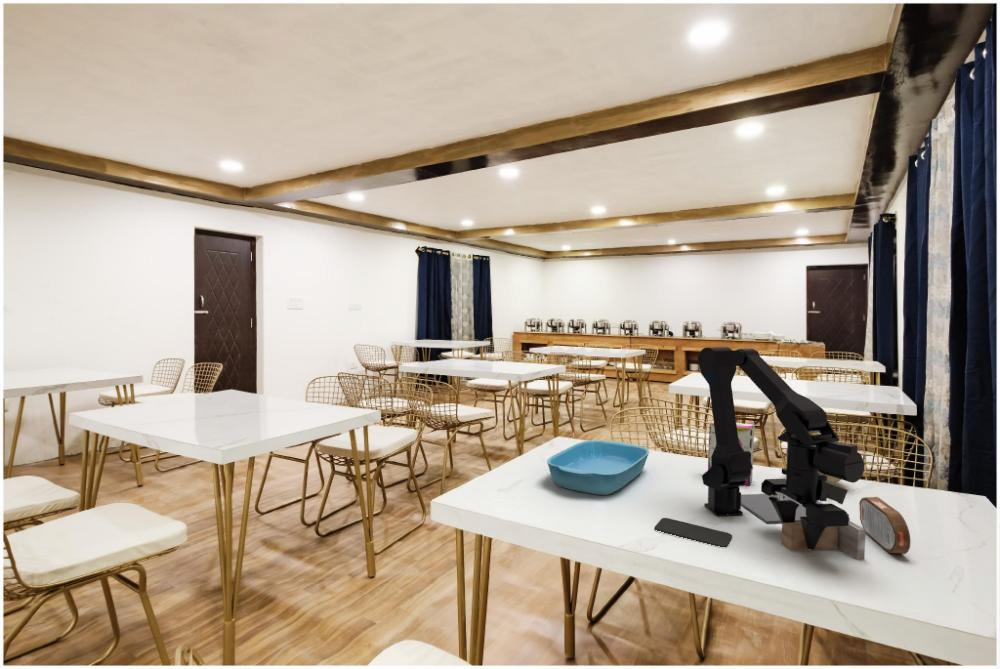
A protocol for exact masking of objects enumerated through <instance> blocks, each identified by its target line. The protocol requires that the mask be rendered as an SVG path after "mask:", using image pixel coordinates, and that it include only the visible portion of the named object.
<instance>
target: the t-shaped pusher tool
mask: <svg viewBox="0 0 1000 669" xmlns="http://www.w3.org/2000/svg"><path fill="white" fill-rule="evenodd" d="M780 543H781V545H782V546H783V547H784V548H786V549H787V550H789V551H791V552H795V551H796V552H797V551H811V550H810V549H808V547H807V544H806V540H805V536H804V532H803V528H802V524H801V522H795V523H781V542H780ZM865 547H866V529H864V528H863V526H860V525H859V524H856V523H854V522H852V521H851V520H849V525H848V526H831V527H826V528H825V530H824V531H823V533H822V534H821V536H820V538H819V540H818V542H817V545H816V547H815V549H813V550H812V551H817V550H818V551H819V550H820V551H821V550H822V551H823V550H837V549H840V550H841V551H843V552H844V553H846V554H847V555H849V556H851V557H852V558H853V559H855V560H857V561H858V560H860V561H861V560H865V555H866V554H865V553H866V552H865V551H866V548H865Z"/></svg>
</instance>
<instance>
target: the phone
mask: <svg viewBox="0 0 1000 669" xmlns="http://www.w3.org/2000/svg"><path fill="white" fill-rule="evenodd" d="M655 530H657V531H661V532H664V533H668V534H672V535H676V536H679V537H678V538H680V537H683V538H682V539H684V538H687V539H686V540H688V539H691V540H690V541H692V540H696V541H699V542H698V543H700V542H703V543H702V544H704V543H707V544H706V545H708V544H711V545H710V546H712V545H715V546H714V547H716V546H720V547H727V546H729V545H730V543H731V541H732V539H733V535H732V534H731V533H729V532H727V531H722V530H719V529H715V528H710V527H705V526H702V525H699V524H698V525H697V524H693V523H690V522H685V521H682V520H677V519H673V518H668V517H663V518H661V519H660V520H658V522H657V523H656V525H654V531H655ZM657 531H656V532H657ZM661 532H660V533H661ZM664 533H663V534H664ZM668 534H667V535H668ZM672 535H671V536H672ZM676 536H675V537H676ZM696 541H695V542H696ZM729 542H730V543H729ZM728 544H729V545H728ZM720 547H719V548H720ZM727 548H728V547H727Z"/></svg>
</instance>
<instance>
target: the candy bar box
mask: <svg viewBox="0 0 1000 669" xmlns="http://www.w3.org/2000/svg"><path fill="white" fill-rule="evenodd" d="M736 424H737V432H738V439H739V444H740V445H741V447H742V448H743V450H744V451H749V452H750V454H751V464H752V466H753V465H754V444H755V443H754V441H755V424H750V423H744V422H743V423H741V422H736ZM715 447H716V436H715V428H714V420H713V419H712V420H711V421H710V422H709V434H708V454H707V456H708V458H707V471H708V470H709V469H710V468H711V456H712V454H713V452H714V449H715ZM753 469H754V468H753ZM753 469H751V476H749V478H748V479H747V480H746V483H745V485H744V486H747V487H750V486H751V484H752V482H753V472H754V471H753Z"/></svg>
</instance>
